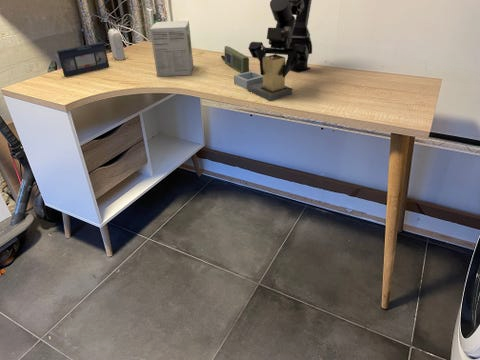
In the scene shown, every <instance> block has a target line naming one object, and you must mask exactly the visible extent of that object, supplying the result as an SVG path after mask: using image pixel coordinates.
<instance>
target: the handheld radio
mask: <svg viewBox="0 0 480 360" xmlns="http://www.w3.org/2000/svg"><path fill="white" fill-rule="evenodd" d="M220 59H222V60H224V64H226V65H227V64H228V65H227V66H229V67H230V66H231V68H232V69H233V68H234V70H235V71H236V70H237V72H238V73H239V72H240V73H239V74H242V73H246V72H250V70H249V69H250V58H249V56H247V55H245V54H244V53H242V52H239V51H238V50H236V49H234V48H232V47H230V46H228V45H225V46H224V55H221V56H220Z"/></svg>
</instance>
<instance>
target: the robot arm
mask: <svg viewBox="0 0 480 360" xmlns="http://www.w3.org/2000/svg"><path fill="white" fill-rule="evenodd" d="M312 1H313V0H270V1H269V7H270V11H271V13H272V16H273V18H274V21H275V22H276V25H275V27H268V28H267V34H266V40H268V44H269V45H270V46H265V45H264V44H263V42H262V41H251V42H249V44H248V50H249V53H250V55H251V57H252V58H254V59H257V60H258V61H259V70H260V74H261V75H263V57H266V55H267V54H269V55H274V54H276V55H279V56H287V58H286V60H285V68H284V71H283V75H282V76H283V77H285V78H286V76H287V75H288V73H289V72H290V71H294V72H297V73H300V72H304V71H306V70H310V69H311V67H310V66H308V60H309V58H310V57H309V56H310V55H312V54H313V44H312V39H311V33H310V30H309V28H308V26H309V25H308V24H309V18H310V12H311V8H312V7H311V5H312Z"/></svg>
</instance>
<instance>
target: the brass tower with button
mask: <svg viewBox="0 0 480 360" xmlns="http://www.w3.org/2000/svg"><path fill="white" fill-rule="evenodd" d="M285 65H286V57H285V56H283V55H280V54H269V55H267V56H266V57H263V90H265V91H268V92H270V93H275V92H278V91H282V90H284V89H285V86H286V84H285V83H286V81H285V80H286V76H285V77H283V76H282V75H283V71H284V68H285Z"/></svg>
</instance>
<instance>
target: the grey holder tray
mask: <svg viewBox="0 0 480 360" xmlns="http://www.w3.org/2000/svg"><path fill="white" fill-rule="evenodd" d="M247 92H249V93H251V92H252V93H251V94H253V93H254V94H253V95H255V94H256V95H255V96H258V97H260V98H261V99H265V100H266V99H267V100H266V101H268V102H271V101H275V100H278V99H282V98H285V97H289V96H292V95H293V88H292V87H289V86H287V85H285V89H284V90H282V91H278V92H275V93H270V92H268V91H265V90H263V82H259V83H255V84H251V85H248V89H247Z"/></svg>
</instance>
